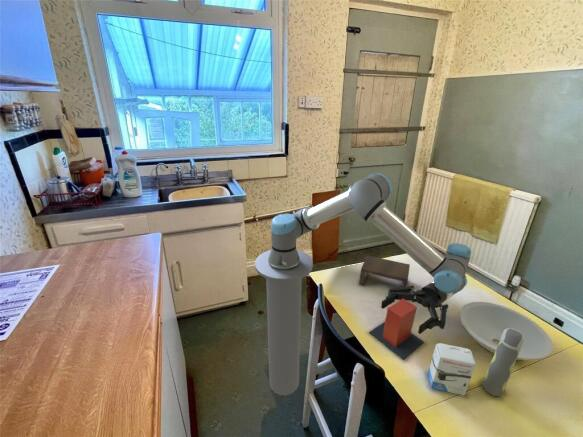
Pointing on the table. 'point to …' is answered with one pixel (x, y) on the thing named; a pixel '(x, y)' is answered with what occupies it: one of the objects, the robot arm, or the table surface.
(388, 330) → the block
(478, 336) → the soup bowl
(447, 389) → the ink box
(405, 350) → the mat
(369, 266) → the shelf
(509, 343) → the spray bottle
